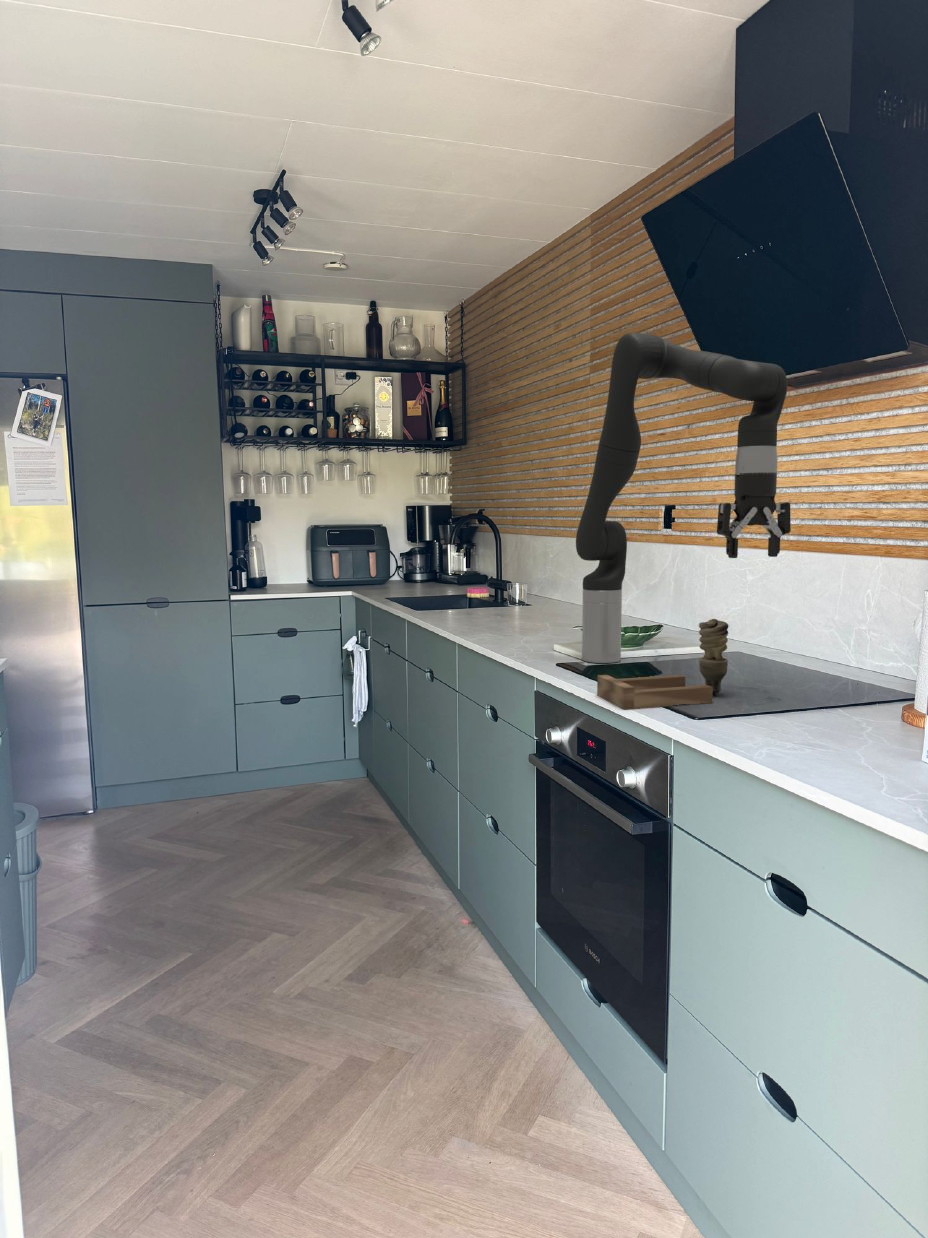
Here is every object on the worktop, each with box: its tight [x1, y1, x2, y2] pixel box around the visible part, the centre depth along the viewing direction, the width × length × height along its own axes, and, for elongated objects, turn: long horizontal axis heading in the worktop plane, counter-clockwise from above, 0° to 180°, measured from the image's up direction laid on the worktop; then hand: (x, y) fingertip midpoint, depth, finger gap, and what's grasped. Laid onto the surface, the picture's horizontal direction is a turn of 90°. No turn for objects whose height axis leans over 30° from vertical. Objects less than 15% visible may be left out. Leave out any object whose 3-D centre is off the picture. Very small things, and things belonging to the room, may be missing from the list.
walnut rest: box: [596, 674, 713, 710], centre depth 157 cm, size 12×18×4 cm, turn 105°
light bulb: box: [698, 618, 730, 697], centre depth 160 cm, size 6×6×15 cm
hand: (752, 557), depth 157 cm, fingers open, 8 cm apart
